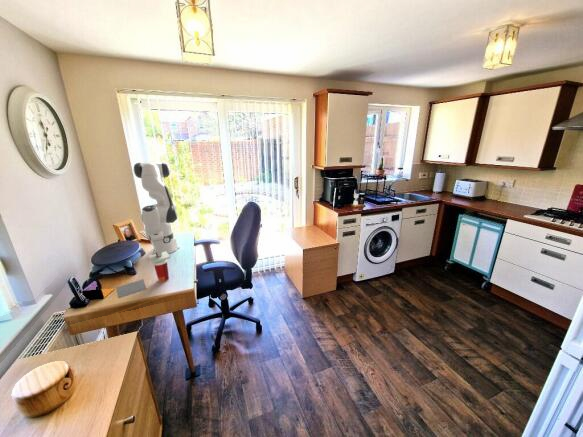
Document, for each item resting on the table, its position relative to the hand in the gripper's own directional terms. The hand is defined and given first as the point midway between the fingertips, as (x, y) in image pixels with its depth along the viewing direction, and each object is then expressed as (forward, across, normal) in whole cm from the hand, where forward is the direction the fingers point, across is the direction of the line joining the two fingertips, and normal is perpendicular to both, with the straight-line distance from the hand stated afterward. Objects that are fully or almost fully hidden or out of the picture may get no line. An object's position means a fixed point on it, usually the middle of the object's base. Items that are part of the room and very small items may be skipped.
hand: (158, 254), depth 144 cm
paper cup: (+18, 0, 0) cm, 18 cm away
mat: (+18, -2, -17) cm, 25 cm away
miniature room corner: (+18, -6, -32) cm, 37 cm away
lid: (+2, 0, 0) cm, 2 cm away
